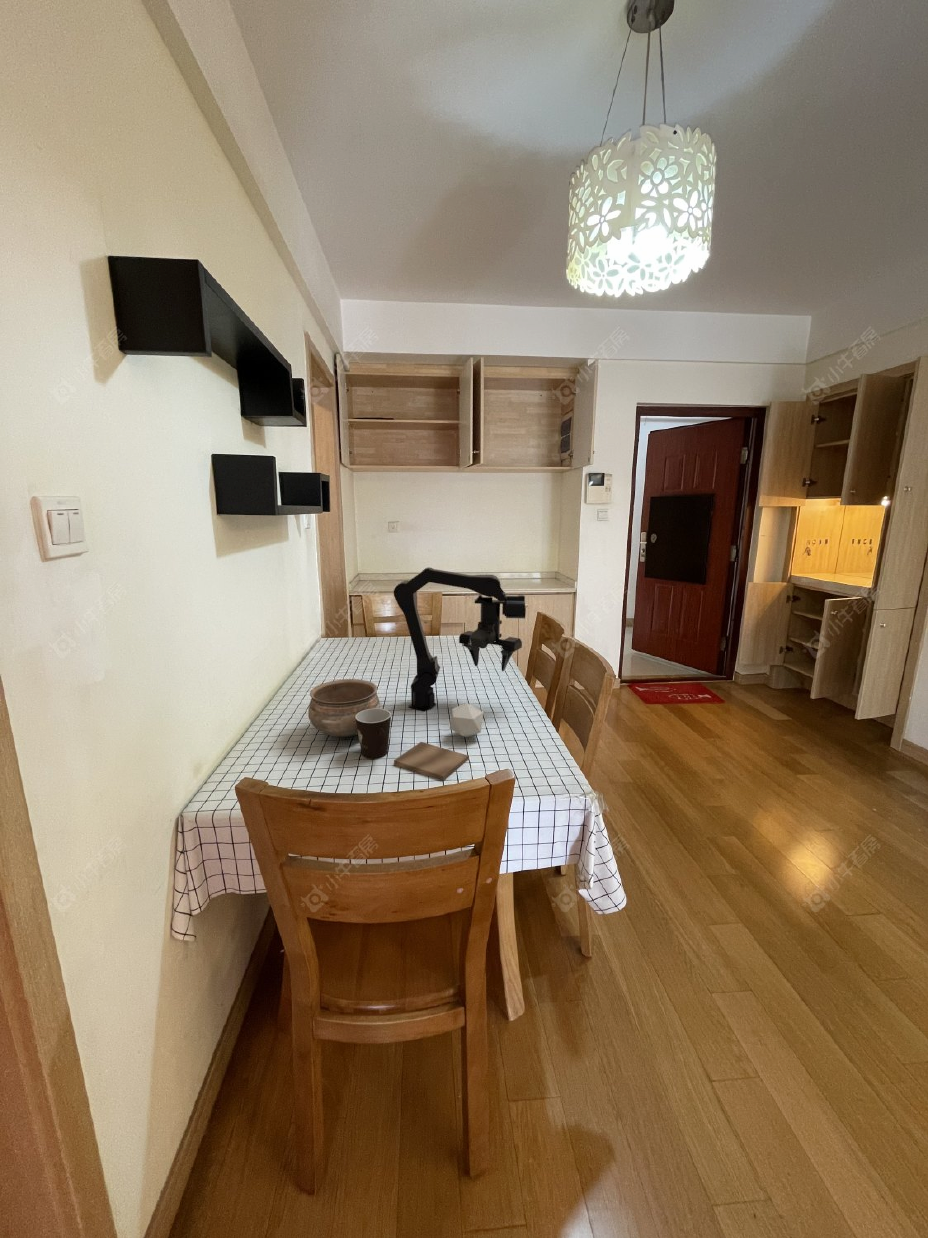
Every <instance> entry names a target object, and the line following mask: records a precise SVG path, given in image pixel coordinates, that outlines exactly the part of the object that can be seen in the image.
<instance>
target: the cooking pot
mask: <svg viewBox="0 0 928 1238" xmlns="http://www.w3.org/2000/svg"><path fill="white" fill-rule="evenodd" d="M377 691H378V686H377V685H376V684H375V683H374V682H372V681H369V680H365V679H356V678H354V679H353V678H349V679H347V678H346V679H336V680H332V681H326V682H323V683H321V684H318V685H317V686H314V687H313V688H312V689H311V690H310V692H309V696H310V698H311V699H310V701H309V705H308V708H307V709H308V710H307V711H308V713H307V714H308V719H309V721H310V723H311V724H312V726H313V727H314V728H315V729H316V730H318V731H319V732H321V733H323V734H325V735H328V736H332V737H336V738H339V739H349V738H353V737H355V736H357V735H358V730H357V724H356V718H355V716H356V714H357V713H359V712H361V711H363V710H367V709H374V708H378V709H382V708H381V702H380V698H379V696H378V694H377Z"/></svg>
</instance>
